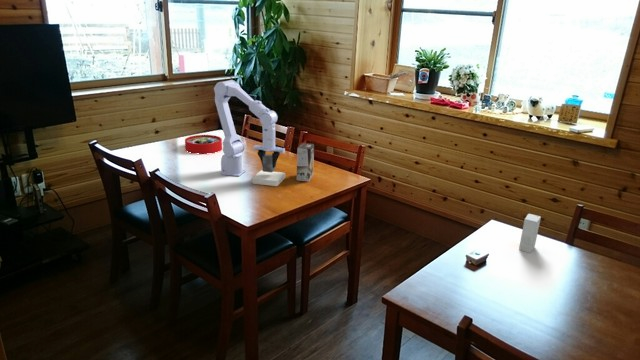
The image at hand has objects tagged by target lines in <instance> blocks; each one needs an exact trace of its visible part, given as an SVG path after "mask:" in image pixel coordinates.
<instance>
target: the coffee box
mask: <svg viewBox="0 0 640 360" xmlns="http://www.w3.org/2000/svg"><path fill="white" fill-rule="evenodd" d="M296 151H297V152H296V181H300V182H301V181H302V182H307V183H308V182H310V181H311V179H312V178H313V177H314V160H315V159H314V157H315V156H314V155H315V144H314V143H307V142H306V143H304V142H301V143H300V144H299V146H298V147H297V150H296Z"/></svg>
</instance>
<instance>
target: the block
mask: <svg viewBox="0 0 640 360" xmlns="http://www.w3.org/2000/svg"><path fill="white" fill-rule="evenodd" d="M262 170H263V171H264V172H275V171H276V167H275V168H273V158H272V154H268V153H266V155H264V156H263V166H262Z"/></svg>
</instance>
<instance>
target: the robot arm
mask: <svg viewBox="0 0 640 360" xmlns="http://www.w3.org/2000/svg"><path fill="white" fill-rule="evenodd" d="M213 92H214V102H215V106H216V110H217V113H218V117H219V122H220V125H221V128H222V130H223V136H224V139H222V151H223V154H222V156H221V160H220V168H221V170H220V172H221V173H220V174H221V175H225V176H232V177H240V176H241V175H242V174H244V173H245V172H246V170H244V169H243V161H242V160H243V157H242V156H243V153H244V151H245V147H246V146H245V144H244V142H243V141H242V137H240V136H239V134H237V132H236V127H235V125H234V121H233V117H232V114H231V109H230V107H229V106H230V105H229V103H228V102H229V100H230V99H231V97H236V98H237V99H239V100H240V101H242V103H244V104H245V105H247V106H248V109H249V111H250V112H251V113H252V114H254V115H255V116H256V117H257V118H258V119H259V122H260V124H261V127H262V145H257V144H256V145H253V147H252V148H253V149H252V150H253V151H257V156H258V157H259V159H260V162H261V166H262V167H263V156H264V155H266V154H267V152H271V155H272V158H273V168H275V169H276V166H277V162H278V160H279V156H280V155H281V154H285V153H286V152H285V151H286V148H284V147H283V148H282V147H279V146H276V123H277V122H278V118H279V116H278V114H277V112H276V111H274V110H271V109H270V108H268V107H266V106H265V105H264V104H263V102H262V100H261V101H260V100H257V99H255V100H254V99H253V98H252V97H251V96H250V95H249V94H248V93H247V92H246V91H245V90H243V89H242V87H241V85H240V84H239V83H238V82H236V81H235V80H233V79H229V80H225V81H219V82H216V84H215V86H214V87H213Z"/></svg>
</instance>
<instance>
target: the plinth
mask: <svg viewBox="0 0 640 360" xmlns="http://www.w3.org/2000/svg"><path fill="white" fill-rule="evenodd" d="M285 179H286V172H281V171H273V172H264V171H263V169H261V170H259V171H258V172H257V173H256V174H255V175H254V176H253V177H252V178H251V183H252V184H253V185H254V184H255V185H265V186H269V187H270V186H271V187H278V186H279V185H280V184H281V183H282V182H283V180H285Z"/></svg>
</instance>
